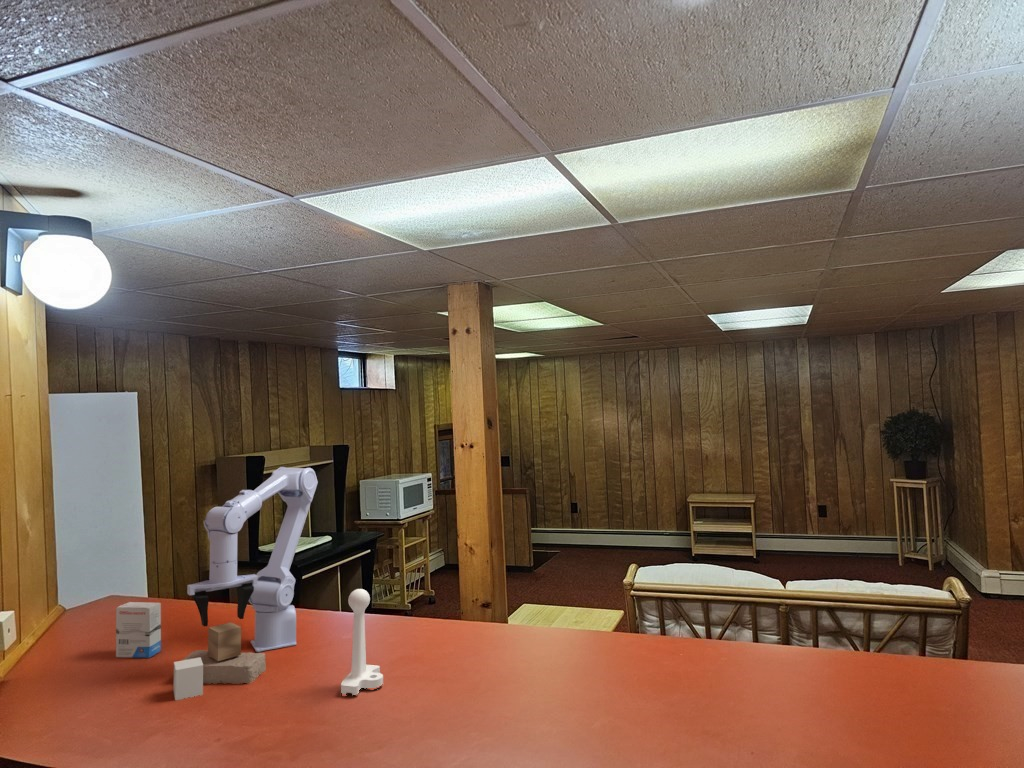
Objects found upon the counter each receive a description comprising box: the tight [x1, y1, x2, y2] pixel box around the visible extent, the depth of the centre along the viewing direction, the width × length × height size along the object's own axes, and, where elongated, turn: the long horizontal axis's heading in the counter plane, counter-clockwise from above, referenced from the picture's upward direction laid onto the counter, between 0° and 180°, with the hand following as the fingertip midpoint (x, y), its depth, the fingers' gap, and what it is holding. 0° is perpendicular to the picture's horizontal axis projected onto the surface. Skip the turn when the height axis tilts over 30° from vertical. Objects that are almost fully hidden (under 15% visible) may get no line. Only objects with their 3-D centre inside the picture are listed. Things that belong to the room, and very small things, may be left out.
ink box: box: [115, 601, 162, 659], centre depth 156 cm, size 9×5×12 cm, turn 84°
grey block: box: [172, 657, 204, 701], centre depth 134 cm, size 5×5×6 cm
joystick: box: [340, 588, 384, 696], centre depth 137 cm, size 11×8×20 cm
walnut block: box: [207, 622, 242, 661], centre depth 144 cm, size 5×5×6 cm
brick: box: [181, 649, 267, 685], centre depth 143 cm, size 17×8×5 cm, turn 88°
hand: (222, 621), depth 147 cm, fingers open, 7 cm apart
